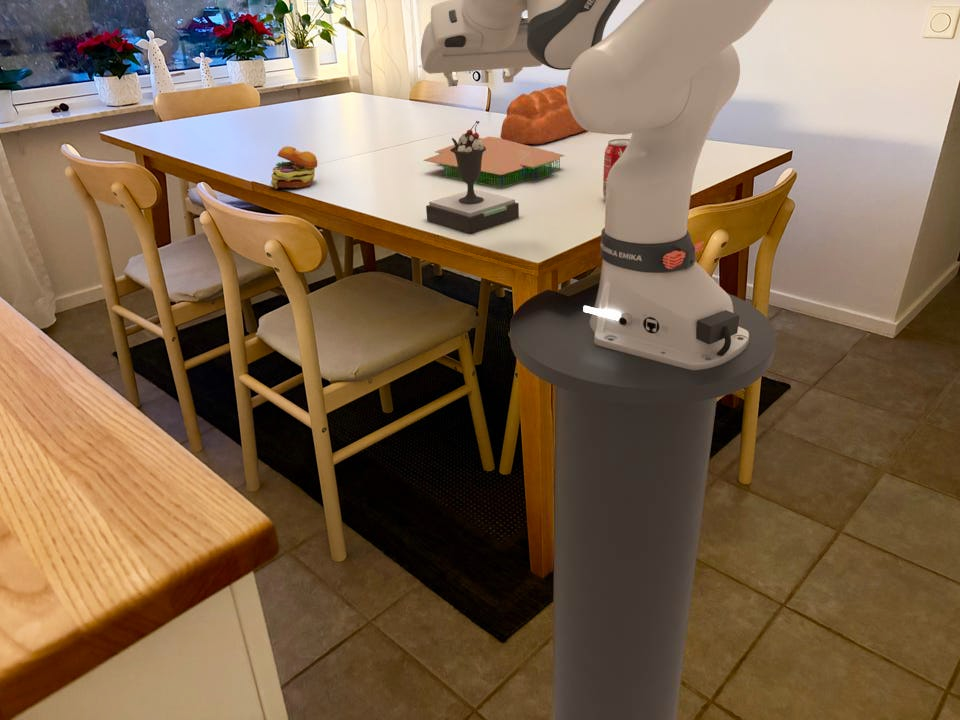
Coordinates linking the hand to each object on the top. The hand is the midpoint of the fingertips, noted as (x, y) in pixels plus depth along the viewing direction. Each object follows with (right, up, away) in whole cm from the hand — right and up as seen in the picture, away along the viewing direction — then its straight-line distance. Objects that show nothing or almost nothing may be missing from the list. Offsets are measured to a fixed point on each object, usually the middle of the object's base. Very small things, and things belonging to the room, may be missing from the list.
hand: (479, 81), depth 123 cm
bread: (+20, +20, +95) cm, 99 cm away
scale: (-1, -19, +23) cm, 30 cm away
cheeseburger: (-44, -5, +54) cm, 70 cm away
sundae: (-2, -16, +22) cm, 27 cm away
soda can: (+29, -13, +31) cm, 45 cm away
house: (+3, 0, +58) cm, 58 cm away
